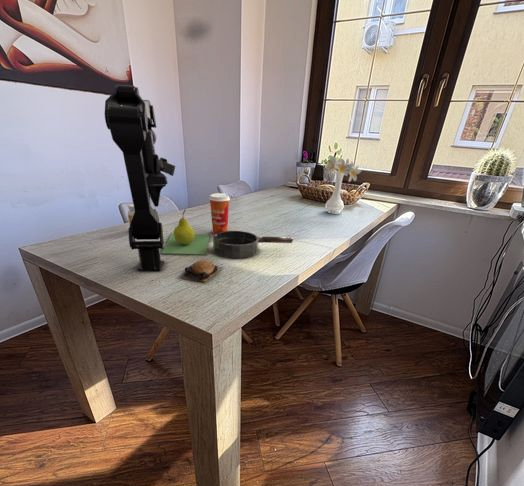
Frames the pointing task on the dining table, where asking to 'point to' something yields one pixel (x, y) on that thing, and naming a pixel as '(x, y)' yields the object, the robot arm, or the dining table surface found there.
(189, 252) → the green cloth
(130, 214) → the supplement bottle
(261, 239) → the pan handle
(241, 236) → the pan
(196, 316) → the dining table surface
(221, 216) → the paper cup
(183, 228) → the fruit
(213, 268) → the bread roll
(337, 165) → the flower vase
